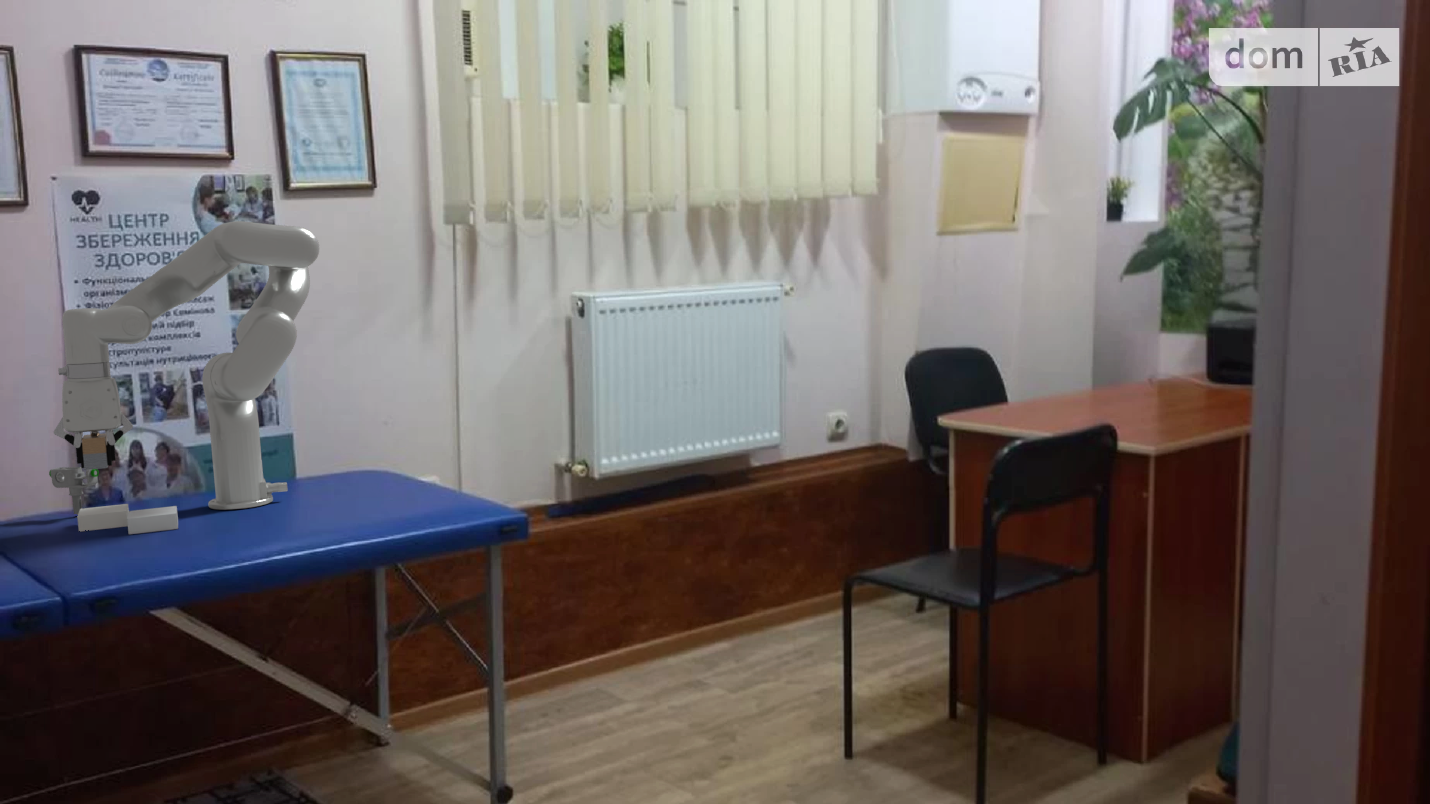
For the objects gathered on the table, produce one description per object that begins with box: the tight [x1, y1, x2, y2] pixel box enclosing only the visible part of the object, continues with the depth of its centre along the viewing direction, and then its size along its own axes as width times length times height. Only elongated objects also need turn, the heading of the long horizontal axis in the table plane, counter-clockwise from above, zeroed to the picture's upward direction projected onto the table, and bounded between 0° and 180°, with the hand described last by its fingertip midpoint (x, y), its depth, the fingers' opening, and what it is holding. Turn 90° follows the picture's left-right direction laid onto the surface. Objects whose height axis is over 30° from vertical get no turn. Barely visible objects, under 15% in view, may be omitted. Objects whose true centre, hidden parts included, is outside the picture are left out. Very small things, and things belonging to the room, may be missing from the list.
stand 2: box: [127, 505, 179, 535], centre depth 247 cm, size 9×9×3 cm
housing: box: [82, 431, 109, 471], centre depth 250 cm, size 7×4×7 cm, turn 23°
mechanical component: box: [48, 466, 100, 515], centre depth 261 cm, size 3×10×10 cm, turn 79°
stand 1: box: [76, 503, 130, 532], centre depth 251 cm, size 9×9×3 cm
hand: (96, 465), depth 250 cm, fingers closed on housing, 4 cm apart
